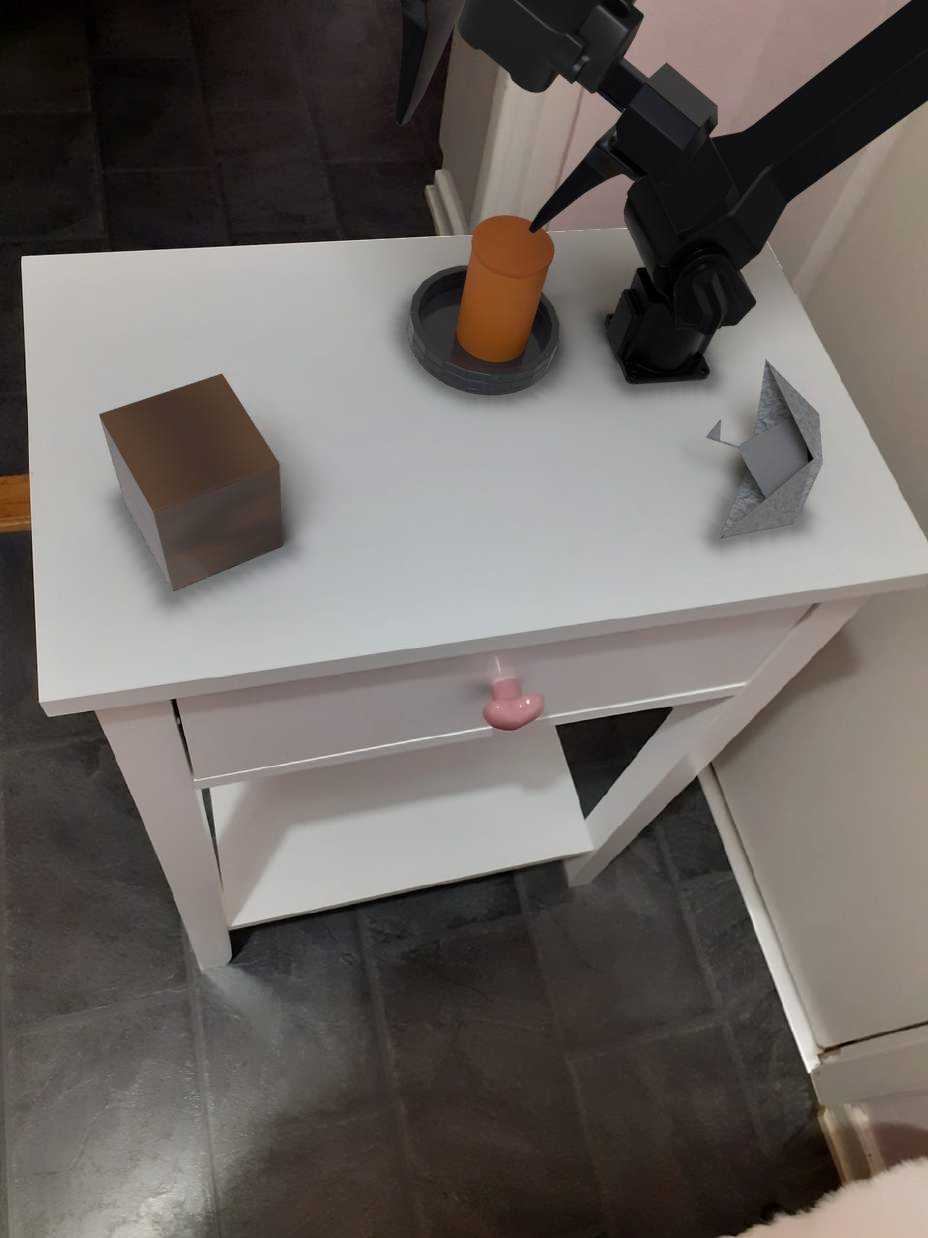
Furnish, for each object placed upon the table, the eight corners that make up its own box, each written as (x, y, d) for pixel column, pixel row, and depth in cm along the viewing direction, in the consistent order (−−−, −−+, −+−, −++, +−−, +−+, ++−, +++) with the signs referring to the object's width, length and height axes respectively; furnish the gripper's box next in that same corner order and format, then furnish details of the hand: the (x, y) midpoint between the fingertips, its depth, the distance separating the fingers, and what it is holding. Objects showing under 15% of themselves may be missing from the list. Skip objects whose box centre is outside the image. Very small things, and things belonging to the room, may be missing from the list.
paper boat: (830, 561, 60) (714, 528, 57) (766, 557, 66) (658, 526, 63) (874, 380, 60) (760, 336, 56) (806, 391, 66) (699, 352, 62)
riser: (232, 462, 58) (222, 372, 51) (283, 546, 56) (280, 463, 49) (124, 502, 56) (98, 413, 49) (172, 591, 53) (153, 511, 46)
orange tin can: (536, 322, 68) (562, 230, 61) (518, 373, 65) (544, 283, 58) (466, 299, 68) (484, 205, 61) (445, 349, 65) (462, 256, 58)
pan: (533, 283, 70) (538, 262, 68) (569, 390, 65) (576, 370, 64) (395, 288, 68) (398, 266, 66) (423, 399, 63) (426, 379, 61)
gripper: (382, -290, 34) (251, 101, 45) (774, 48, 35) (554, 342, 47) (492, -277, 41) (357, 55, 52) (809, 0, 43) (613, 263, 54)
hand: (467, 176), depth 51 cm, fingers open, 9 cm apart
